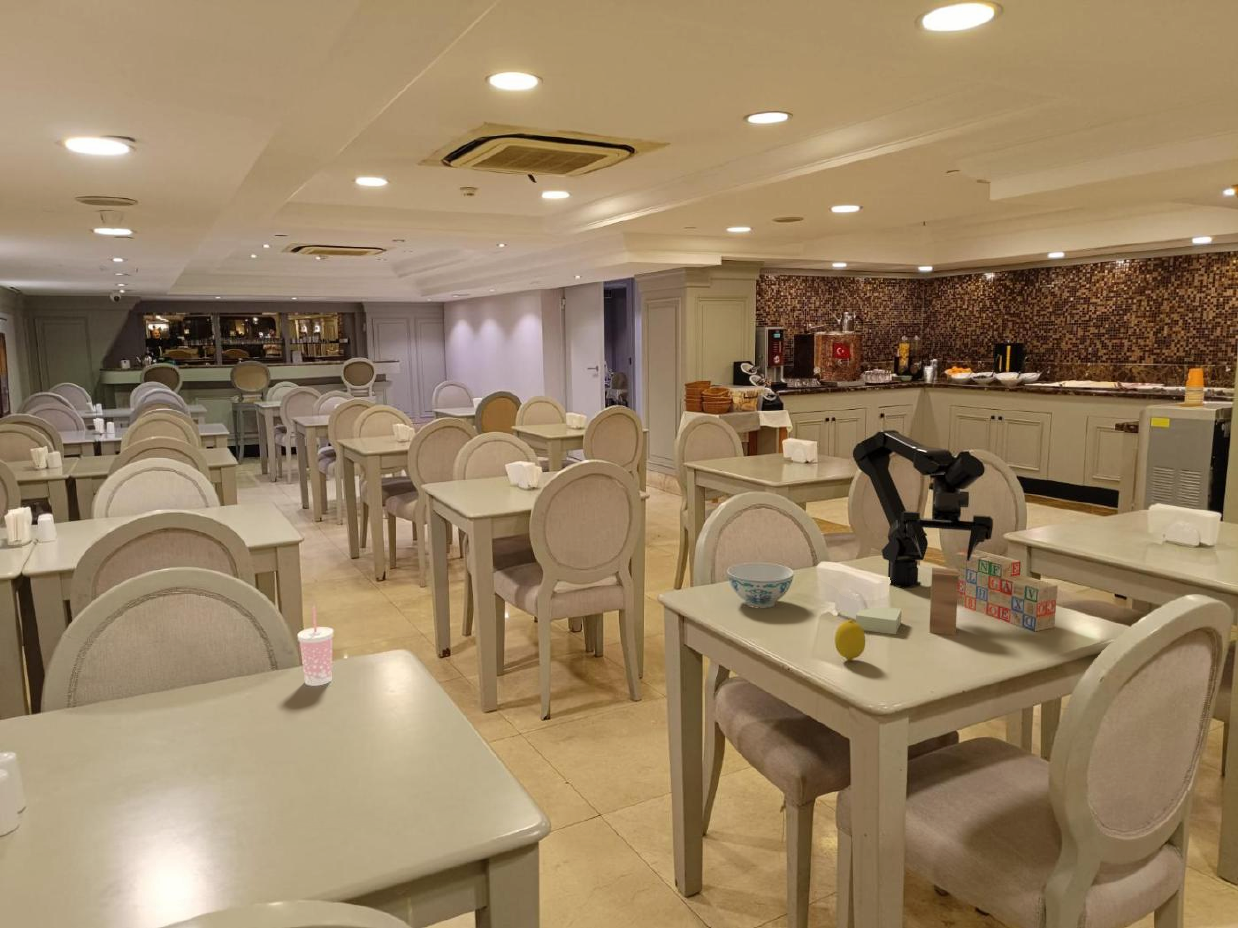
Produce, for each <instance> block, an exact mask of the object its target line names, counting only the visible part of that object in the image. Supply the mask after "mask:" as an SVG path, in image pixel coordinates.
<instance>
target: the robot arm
mask: <svg viewBox="0 0 1238 928" xmlns="http://www.w3.org/2000/svg"><path fill="white" fill-rule="evenodd" d="M894 453H895V454H897V455H898V456H901V457H903V458H905V459H906V460H909V461H910V463H911V462H912V465H913V468H914V469H915V470H916V471H918V472H919V473H920V474H921V475H923V476H935V475H936V476H935V478H934V479H933V481H932V482H931V483H930V484H929V485H928V489H929V490H931V491H932V507H931V511H932V512H931V514H932V515H931V518H927V517H926V518H925V517H920V516H921V512H920V511H908V510H907V509H906V508H905V505H904V503H903V500H902V498H901V496H900V493H899V491H898V489H897V487H896V484H895V481H894V480H893V477H892V475H891V473H890V469H889V467H890V463H891V455H892V454H894ZM852 457H853V459H854V461H855V464H856V465H857V467H858V469H859V470H860V471H861V472H862V473H863V474H865V475H867V476H868V477H869V478H870V481H871V484H872V486H873V489H874V491H875V493H876V496H877V498H878V501H879V503H880V505H881V508H882V510H883V513H884V514H885V517H886V520H887V522H888V525H889V529H888V534H887V539H888V543H886V545H885V546H884V547H883V548H882V549H881V554H882V559H883V560H885V561H887V562H888V567H887V568H888V569H887V570H888V573H887V578H888V577H890V580H891V584H890V585H892V586H894V587H895V586H896V587H898V588H901V589H906V588H911V587H915V586H919V585H922V582H921V581H919V568H918V561H924V558H925V555H926V553H927V549H928V545H929V544H928V543H929V542H928V539H927V536H928V534H927V533H926V532H925V530H924V528H927V529H941V530H950V531H951V530H953V531H963V532H965V531H968V532H970V535H969V541H968V547H967V550H966V552H967V561H969V560H970V557H971V555H972V553H973V551H974V550H976V547H977V546H978V545H979V543H984V542H985V540H989V541H990V540H991V539H992V535H993V530H994V529H993V528H994V519H993V518H992V516H991V515H978V514H973V515H972V520H971V521H966V520H960V518H961V515H962V513H961V511H962V508H969V505H970V492H969V491H963V490H965V489H967V488H969V487H970V486H972V484H974V483H975V482H976V481H977V480H979V478H981V477H982V476H983V475H985V472H986V469H985V465H984V463H983V462H982V461H981V460H980V459H979V458H978V457H977V456H973V455H972V454H971V453H970V451H969V450H963V451H960V452H959V453H958V454H957V455H956V456H954V455H953V454H952V452H951V451H950V450H948V449H945V448H941V447H934V446H933V447H932V446H926V445H924V444H922V443H920V442H917V441H916V440H914V439H912V438H910V437H907V436H905V435H903V434H901V433H900V432H899V431H898V430H896V429H888V430H886V429H885V430H884V429H883V430H879V431H877V432H876V433H875V434H874V435H872V436H870V437H868V438H865V439H864V440H862V441H861V442H859V443H857V444H856V445H855V446H854V448H853V451H852Z"/></svg>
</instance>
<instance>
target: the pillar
mask: <svg viewBox="0 0 1238 928" xmlns="http://www.w3.org/2000/svg"><path fill="white" fill-rule="evenodd" d="M958 578H959V575H958V569H956V568H946V567H945V568H944V567H934V566H933V567H931V581H930V582H931V584H930V586H931V587H930V605H929V606H930V609H929V633H932V634H941V635H944V634H945V635H951V636H952V635H953V636H956V632H957V617H958V616H957V615H958V611H957V610H958V605H957V598H958Z"/></svg>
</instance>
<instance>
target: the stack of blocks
mask: <svg viewBox="0 0 1238 928" xmlns="http://www.w3.org/2000/svg"><path fill="white" fill-rule="evenodd" d="M955 557H956V558H955V569H958V575H959V578H958V598H957V606H960V607H963V608H964V609H967V610H971V611H973V612H977V613H979V614H981V615H985V616H988V617H991V618H995V619H997V620H1000V619H1002V620H1001V621H1003V620H1004V622H1006V623H1010V624H1011V625H1015V626H1019V627H1021V628H1024V629H1027V630H1029V631H1032V632H1038V631H1043V630H1047V629H1051V628H1055V625H1056V612H1057V611H1056V610H1057V599H1058V584H1057V583H1056V584H1055V583H1052V582H1049V581H1048V582H1047V581H1045V580H1041V579H1038V578H1034V577H1030V576H1027V575H1024V574H1021V569H1022V568H1021V566H1022V565H1021V564H1022V563H1021V560H1017V559H1013V558H1010V557H1006V556H1001V555H997V554H995V553H994V554H993V553H989V552H986V551H984V550H983V551H982V550H979V549H974V551H973V553H972V555H971V557H970V560H969V561H967V550H966V551H960V552H956V555H955Z"/></svg>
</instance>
